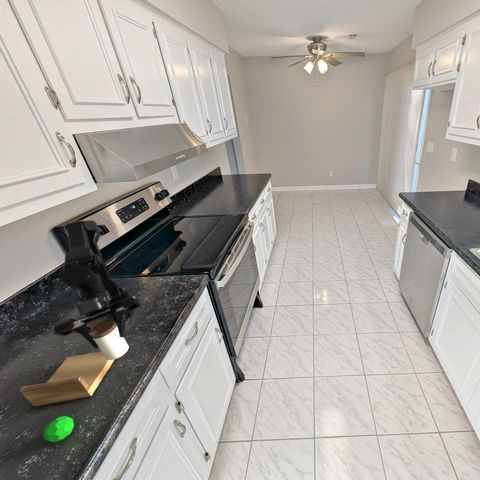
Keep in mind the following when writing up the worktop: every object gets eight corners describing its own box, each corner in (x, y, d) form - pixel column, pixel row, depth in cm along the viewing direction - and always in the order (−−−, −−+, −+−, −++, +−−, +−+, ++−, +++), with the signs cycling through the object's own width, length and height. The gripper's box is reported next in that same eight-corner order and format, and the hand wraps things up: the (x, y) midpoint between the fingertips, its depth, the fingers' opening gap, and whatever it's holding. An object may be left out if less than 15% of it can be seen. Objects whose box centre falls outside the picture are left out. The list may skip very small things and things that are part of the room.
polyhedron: (62, 424, 63) (51, 413, 61) (82, 421, 63) (73, 410, 61) (44, 448, 59) (32, 437, 57) (67, 445, 59) (55, 434, 57)
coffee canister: (101, 355, 74) (85, 330, 69) (123, 340, 78) (109, 316, 74) (110, 363, 71) (94, 338, 67) (132, 348, 76) (118, 324, 71)
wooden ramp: (71, 361, 80) (59, 345, 77) (118, 353, 82) (108, 337, 78) (34, 406, 68) (17, 390, 64) (91, 396, 69) (77, 379, 66)
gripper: (33, 302, 63) (51, 362, 60) (123, 273, 72) (142, 323, 70) (55, 309, 72) (71, 361, 69) (132, 282, 82) (149, 327, 79)
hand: (109, 342), depth 71 cm, fingers closed on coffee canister, 5 cm apart
